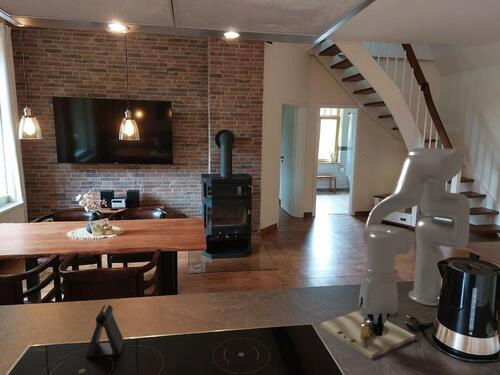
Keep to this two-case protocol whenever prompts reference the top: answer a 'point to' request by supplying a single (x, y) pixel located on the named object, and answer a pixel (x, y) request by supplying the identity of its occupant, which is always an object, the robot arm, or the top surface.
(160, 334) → the top surface
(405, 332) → the stand board
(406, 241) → the robot arm
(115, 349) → the dark triangular stand
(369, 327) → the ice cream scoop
